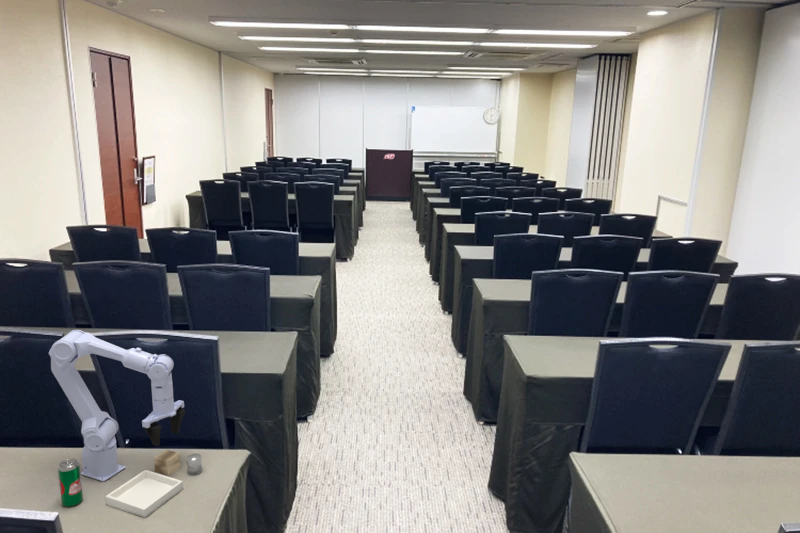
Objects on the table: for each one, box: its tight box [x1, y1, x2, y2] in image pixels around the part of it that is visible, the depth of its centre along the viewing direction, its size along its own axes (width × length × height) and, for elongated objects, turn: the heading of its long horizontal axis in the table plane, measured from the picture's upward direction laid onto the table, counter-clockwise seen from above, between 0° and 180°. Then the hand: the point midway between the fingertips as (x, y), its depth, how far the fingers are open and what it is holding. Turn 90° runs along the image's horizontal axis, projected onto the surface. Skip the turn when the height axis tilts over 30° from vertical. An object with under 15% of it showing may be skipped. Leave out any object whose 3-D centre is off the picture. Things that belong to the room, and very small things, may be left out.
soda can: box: [57, 458, 84, 508], centre depth 152 cm, size 5×5×12 cm
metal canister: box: [186, 453, 202, 477], centre depth 169 cm, size 4×4×5 cm
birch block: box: [153, 449, 181, 477], centre depth 169 cm, size 5×5×5 cm
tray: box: [104, 469, 184, 519], centre depth 157 cm, size 14×14×2 cm
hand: (165, 438), depth 167 cm, fingers open, 7 cm apart
